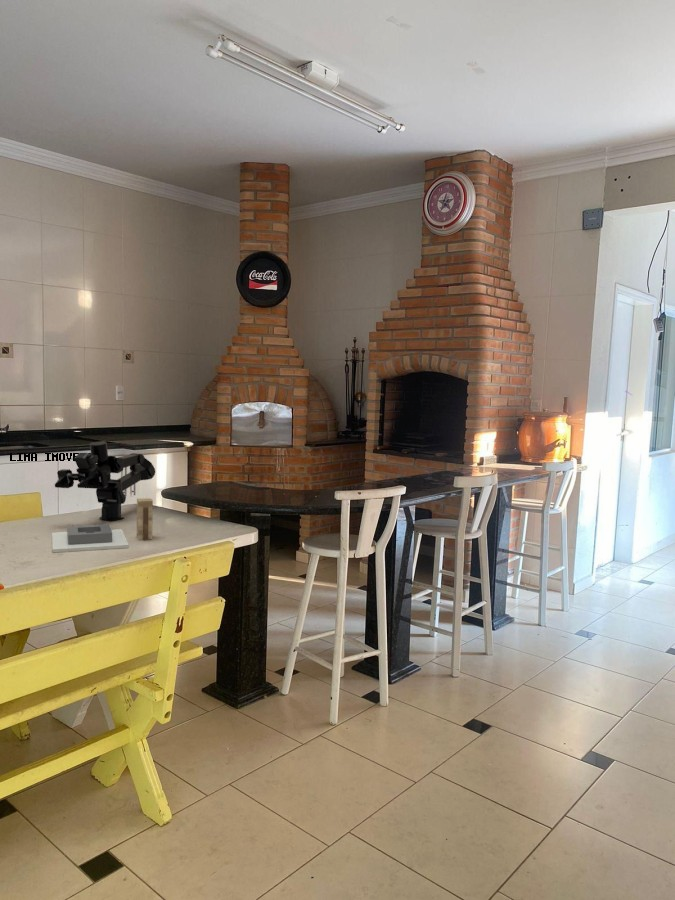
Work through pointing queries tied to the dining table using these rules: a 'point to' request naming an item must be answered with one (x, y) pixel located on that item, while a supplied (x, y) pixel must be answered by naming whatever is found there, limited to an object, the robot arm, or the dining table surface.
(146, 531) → the keyed peg
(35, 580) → the dining table surface
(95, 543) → the socket block
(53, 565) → the dining table surface
